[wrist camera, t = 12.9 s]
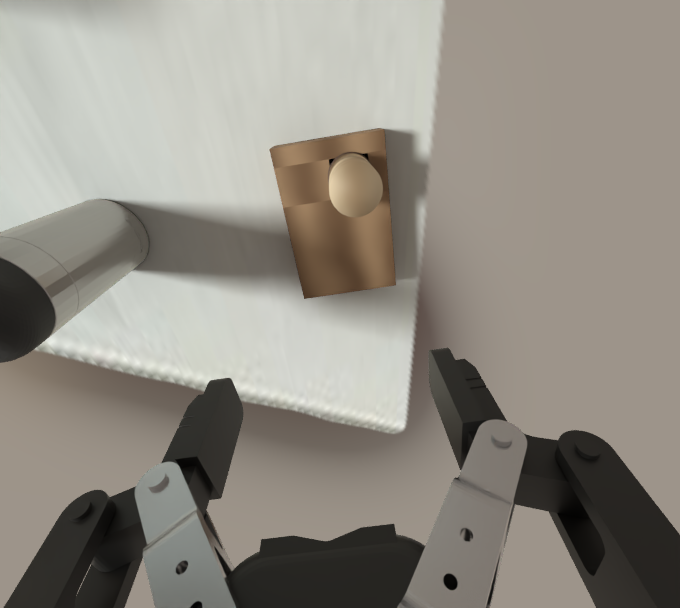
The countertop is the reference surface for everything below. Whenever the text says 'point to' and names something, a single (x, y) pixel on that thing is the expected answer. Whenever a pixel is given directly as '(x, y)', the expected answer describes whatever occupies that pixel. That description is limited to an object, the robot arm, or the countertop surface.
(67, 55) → the countertop surface
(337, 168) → the peg
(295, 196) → the board
